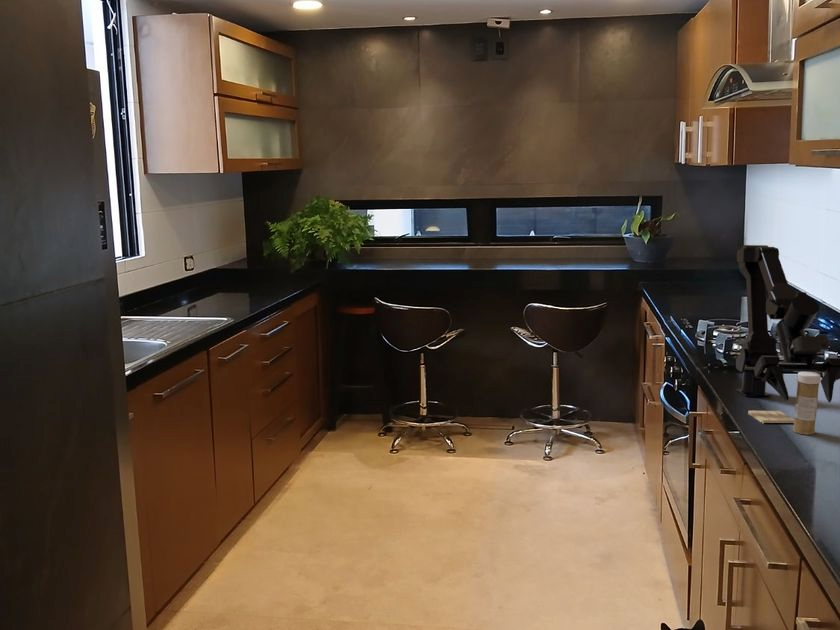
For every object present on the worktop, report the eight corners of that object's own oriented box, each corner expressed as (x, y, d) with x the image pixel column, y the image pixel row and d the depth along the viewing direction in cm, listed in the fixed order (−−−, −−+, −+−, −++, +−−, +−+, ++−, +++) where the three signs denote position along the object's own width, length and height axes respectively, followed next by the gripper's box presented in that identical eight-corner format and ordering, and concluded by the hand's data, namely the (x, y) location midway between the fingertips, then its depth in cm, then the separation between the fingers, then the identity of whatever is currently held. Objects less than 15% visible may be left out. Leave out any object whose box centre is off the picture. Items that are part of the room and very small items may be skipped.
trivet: (748, 413, 199) (748, 410, 199) (779, 413, 199) (779, 410, 199) (763, 423, 191) (763, 419, 191) (795, 423, 191) (795, 419, 191)
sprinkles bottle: (796, 428, 188) (802, 369, 186) (818, 432, 185) (823, 373, 183) (789, 432, 184) (794, 373, 182) (810, 436, 181) (816, 376, 179)
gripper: (762, 320, 185) (776, 380, 176) (848, 322, 184) (867, 382, 175) (748, 348, 194) (760, 406, 185) (829, 349, 194) (846, 408, 184)
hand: (808, 400), depth 182 cm, fingers open, 9 cm apart
